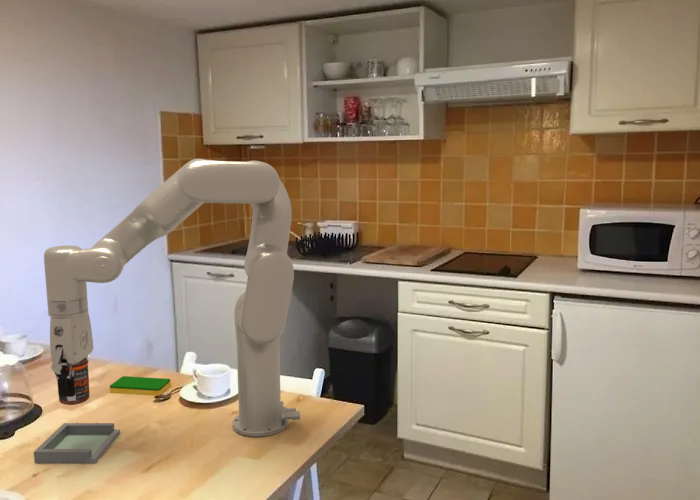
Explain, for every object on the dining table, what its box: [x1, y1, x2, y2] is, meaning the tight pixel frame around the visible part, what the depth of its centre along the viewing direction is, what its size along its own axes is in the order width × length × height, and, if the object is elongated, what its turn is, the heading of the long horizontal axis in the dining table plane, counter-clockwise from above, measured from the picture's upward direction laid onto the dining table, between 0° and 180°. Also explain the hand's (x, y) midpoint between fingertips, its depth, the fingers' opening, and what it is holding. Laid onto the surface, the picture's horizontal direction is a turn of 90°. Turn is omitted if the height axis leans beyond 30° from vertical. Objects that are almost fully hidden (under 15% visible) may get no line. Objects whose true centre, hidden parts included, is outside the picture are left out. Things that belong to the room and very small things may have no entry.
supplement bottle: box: [58, 357, 91, 406], centre depth 132 cm, size 6×6×11 cm
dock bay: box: [33, 422, 121, 464], centre depth 135 cm, size 12×13×2 cm
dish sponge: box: [109, 375, 172, 397], centre depth 167 cm, size 7×14×2 cm, turn 81°
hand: (74, 389), depth 133 cm, fingers closed on supplement bottle, 6 cm apart
